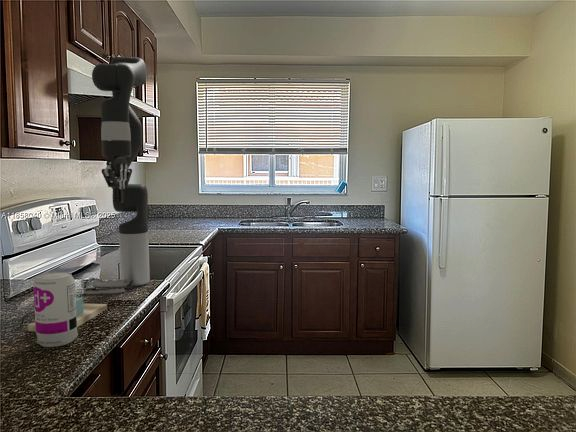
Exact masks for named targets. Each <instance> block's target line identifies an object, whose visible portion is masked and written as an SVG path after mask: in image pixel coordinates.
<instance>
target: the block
mask: <svg viewBox="0 0 576 432" xmlns="http://www.w3.org/2000/svg"><path fill="white" fill-rule="evenodd" d="M83 303H84V297H76V314H77V316H79V315H81V314H83V313H84V311H83Z"/></svg>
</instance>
